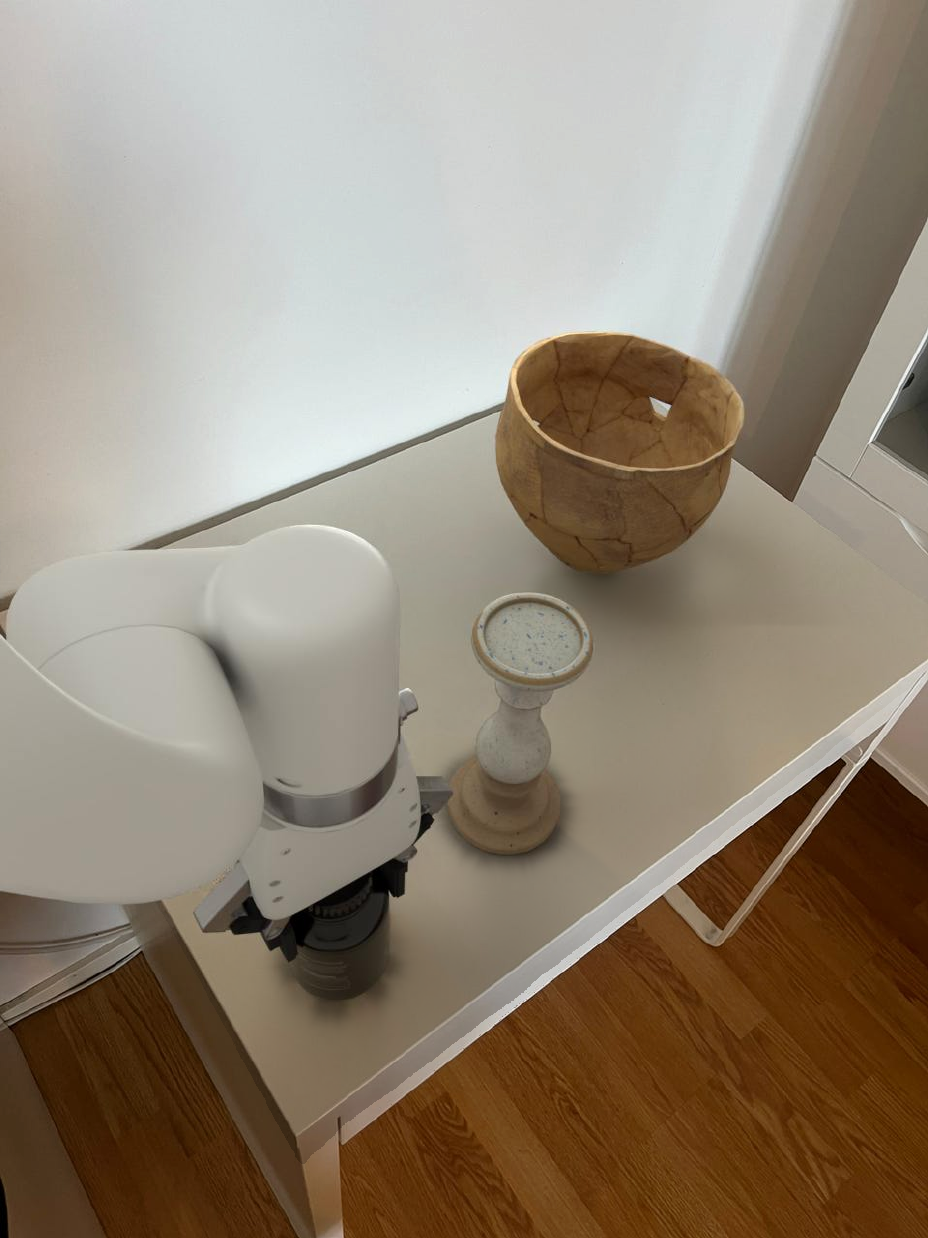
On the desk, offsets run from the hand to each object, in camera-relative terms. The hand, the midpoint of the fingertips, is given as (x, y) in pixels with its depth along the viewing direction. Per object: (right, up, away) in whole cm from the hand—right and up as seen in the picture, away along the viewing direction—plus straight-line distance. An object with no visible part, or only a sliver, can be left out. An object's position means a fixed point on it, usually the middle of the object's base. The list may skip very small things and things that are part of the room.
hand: (335, 907), depth 58 cm
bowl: (+20, +23, +33) cm, 45 cm away
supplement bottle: (0, -5, +5) cm, 7 cm away
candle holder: (+11, +4, +14) cm, 18 cm away
